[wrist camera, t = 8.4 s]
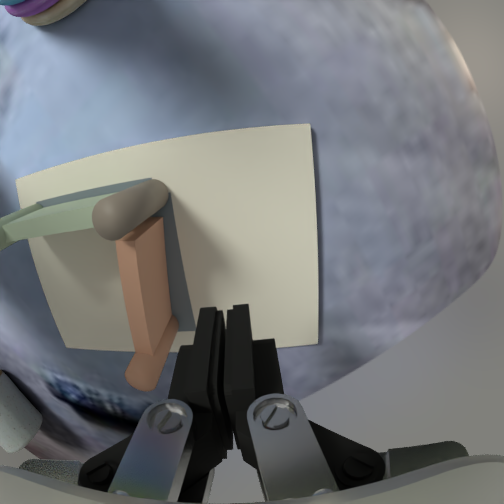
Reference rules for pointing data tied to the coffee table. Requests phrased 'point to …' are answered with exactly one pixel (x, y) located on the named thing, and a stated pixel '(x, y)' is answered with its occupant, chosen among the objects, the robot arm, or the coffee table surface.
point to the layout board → (192, 235)
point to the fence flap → (141, 274)
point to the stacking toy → (41, 10)
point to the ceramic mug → (16, 417)
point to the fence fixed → (47, 220)
